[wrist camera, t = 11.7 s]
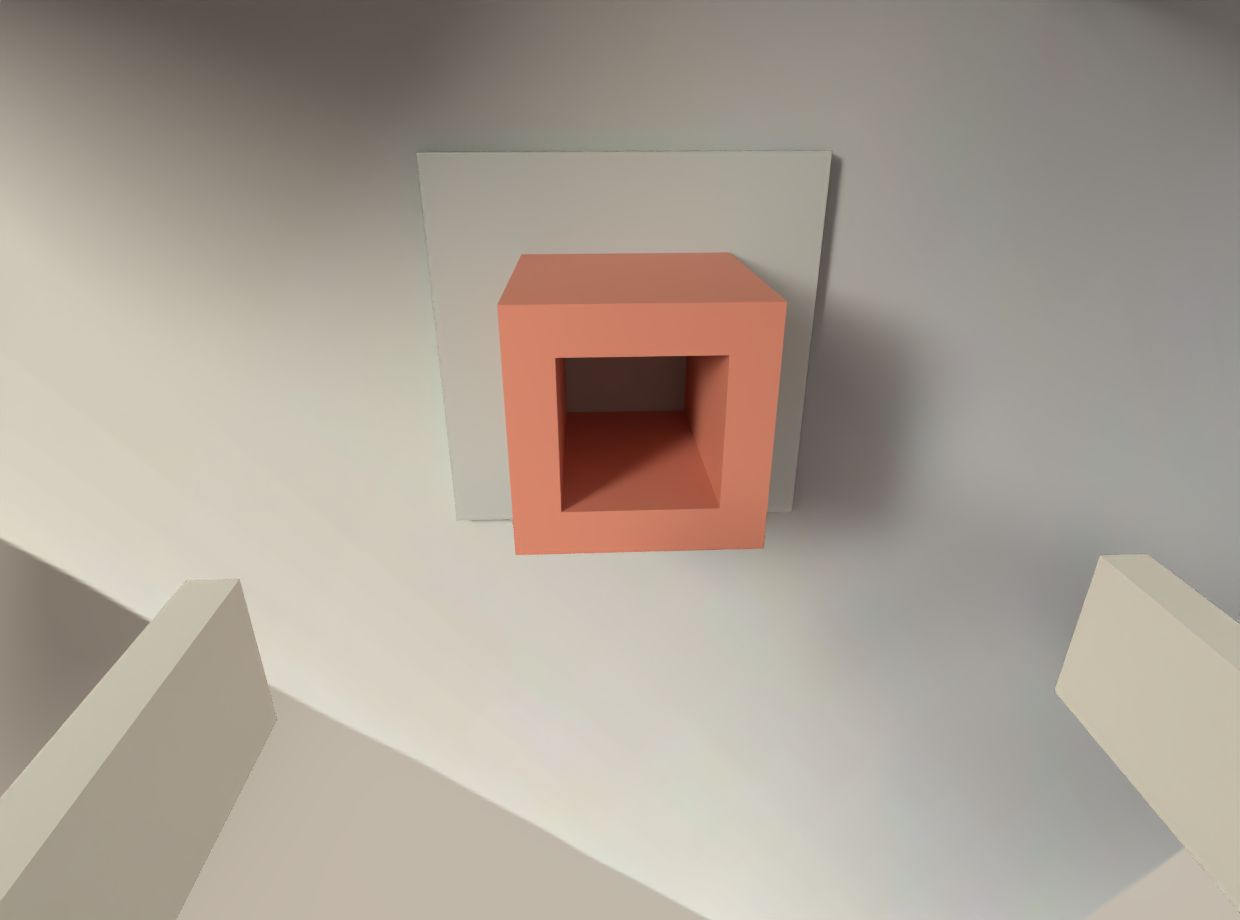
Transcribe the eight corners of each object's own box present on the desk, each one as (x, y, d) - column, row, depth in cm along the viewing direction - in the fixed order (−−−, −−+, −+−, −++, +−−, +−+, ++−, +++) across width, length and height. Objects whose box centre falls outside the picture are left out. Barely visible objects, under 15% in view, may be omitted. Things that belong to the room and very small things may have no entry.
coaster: (459, 513, 30) (457, 520, 30) (419, 151, 24) (415, 152, 24) (787, 505, 31) (791, 512, 30) (826, 150, 25) (832, 151, 24)
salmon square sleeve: (532, 446, 29) (515, 555, 21) (521, 254, 25) (497, 304, 18) (718, 442, 29) (763, 548, 22) (729, 252, 26) (787, 301, 18)
